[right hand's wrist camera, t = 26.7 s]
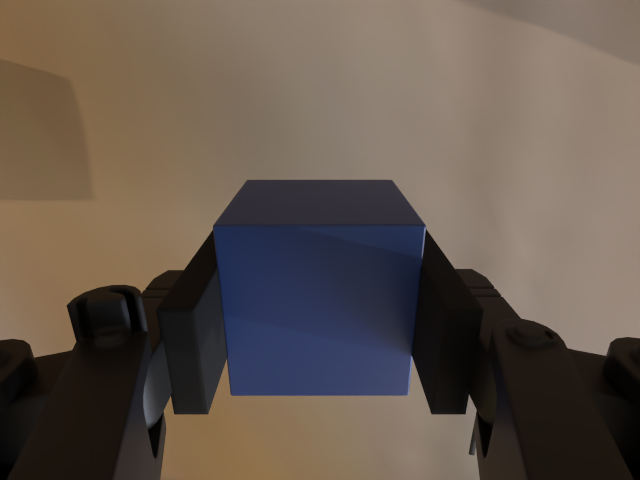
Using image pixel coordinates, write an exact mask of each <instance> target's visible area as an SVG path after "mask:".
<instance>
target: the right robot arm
mask: <svg viewBox="0 0 640 480" xmlns="http://www.w3.org/2000/svg"><path fill="white" fill-rule="evenodd" d="M67 308H68V312H69V316H70V319H71V323H72V327H73V330H74V334H75V338H76V341H77V342H76V344H75V346H74V348H73V350H71V351H67V352H62V353H57V354H52V355H46V356H41V357H36V358H34V356H33V353H32V350H31V347H30V345H29V344H28V343H27V342H25V341H24V340H16V339H8V340H0V480H160V477H161V468H162V460H163V452H164V444H165V435H166V423H165V417H164V412H163V411H164V409H165V407H166V404H167V402H168V400H169V398H170V396H171V398H172V404H173V410H174V414H208V413H209V410H210V407H211V404H212V401H213V398H214V395H215V392H216V389H217V386H218V383H219V380H220V377H221V374H222V371H223V368H224V365H225V362H226V359H227V349H226V340H225V330H224V321H223V311H222V301H221V292H220V282H219V273H218V266H217V260H216V251H215V241H214V232H213V231H212V232H211V233H210V235H209V236H208V238H207V239H206V240H205V242H204V243H203V245H202V246H201V247H200V249H199V250H198V252H197V253H196V254H195V256H194V257H193V259H192V260H191V261H190V263H189V264H188V265H187V267H186V268H185V270H168V271H166V272H165V273H163V274H161V275H159V276H158V277H156V278H154V279H153V280H152V282H151V283H150V284H149V285H148V286H147V288H146V290H144V291H143V292H142V293H141V291H140V290H138V289H137V288H136V287H133V286H128V285H111V286H105V287H100V288H96V289H93V290H91V291H88V292H85V293H83V294H81V295H79V296H77V297H76V298H74V299H73V300H72V301H71V302H70V303H69V304H68V305H67ZM412 357H413V360H414V363H415V366H416V369H417V372H418V375H419V378H420V381H421V384H422V387H423V390H424V393H425V396H426V399H427V402H428V405H429V408H430V411H431V414H466V408H467V402H468V397H469V395H470V397H471V399H472V401H473V403H474V405H475V407H476V409H477V412H476V417H475V423H474V428H473V433H472V438H471V444H470V450H469V454H470V455H474V454H475V449H476V451H477V459H478V467H479V476H480V480H640V338H631V337H625V338H617V339H615V340H614V341H612V342H611V343H610V346H609V349H608V352H607V355H606V356H603V355H598V354H593V353H587V352H582V351H577V350H572V349H568V348H567V347H566V345H565V343H564V341H563V340H562V339H561V338H560V336H559V335H558V334H557V333H556V332H554V331H553V330H551V329H549V328H548V327H546V326H544V325H541V324H539V323H536V322H534V321H529V320H525V319H521V318H520V317H519V316H518V315H517V313H516V312H515V311H514V310H513V309H512V307H511V306H510V305H509V304H508V303H507V302H506V300H505V299H504V298H503V297H501V294H500V293H499V292H498V291H497V290H496V289H494V286H493V285H492V284H491V283H490V281H489V280H488V279H487V278H486V277H485V276H483V275H481V274H479V273H478V272H476V271H474V270H473V269H454V267H453V266H452V265H451V263H450V262H449V260H448V259H447V258H446V256H445V255H444V253H443V252H442V251H441V249H440V248H439V246H438V245H437V244H436V242H435V241H434V239H433V238H432V237H431V235H430V234H429V232H428V231H427V230H426V232H425V242H424V251H423V261H422V268H421V278H420V288H419V297H418V307H417V317H416V326H415V336H414V346H413V355H412Z"/></svg>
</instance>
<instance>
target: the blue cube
mask: <svg viewBox="0 0 640 480" xmlns="http://www.w3.org/2000/svg"><path fill="white" fill-rule="evenodd" d="M213 232H214V241H215V251H216V260H217V266H218V273H219V282H220V292H221V301H222V311H223V321H224V330H225V340H226V349H227V364H228V373H229V383H230V392H231V395H233V396H326V395H408V394H409V386H410V377H411V367H412V355H413V346H414V336H415V326H416V317H417V307H418V297H419V288H420V278H421V268H422V261H423V251H424V242H425V232H426V225H425V224H424V222H423V221H422V220H421V218H420V217H419V216H418V214H417V213H416V212H415V210H414V209H413V208H412V206H411V205H410V204H409V202H408V201H407V199H406V198H405V197H404V195H403V194H402V193H401V191H400V190H399V189H398V187H397V186H396V185H395V183H394V182H393V181H392V180H247V181H246V182H245V184H244V185H243V186H242V188H241V189H240V190H239V192H238V193H237V194H236V196H235V197H234V198H233V200H232V201H231V202H230V204H229V205H228V206H227V208H226V209H225V210H224V212H223V213H222V214H221V216H220V217H219V219H218V220H217V221H216V223H215V224H214V225H213Z"/></svg>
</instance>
